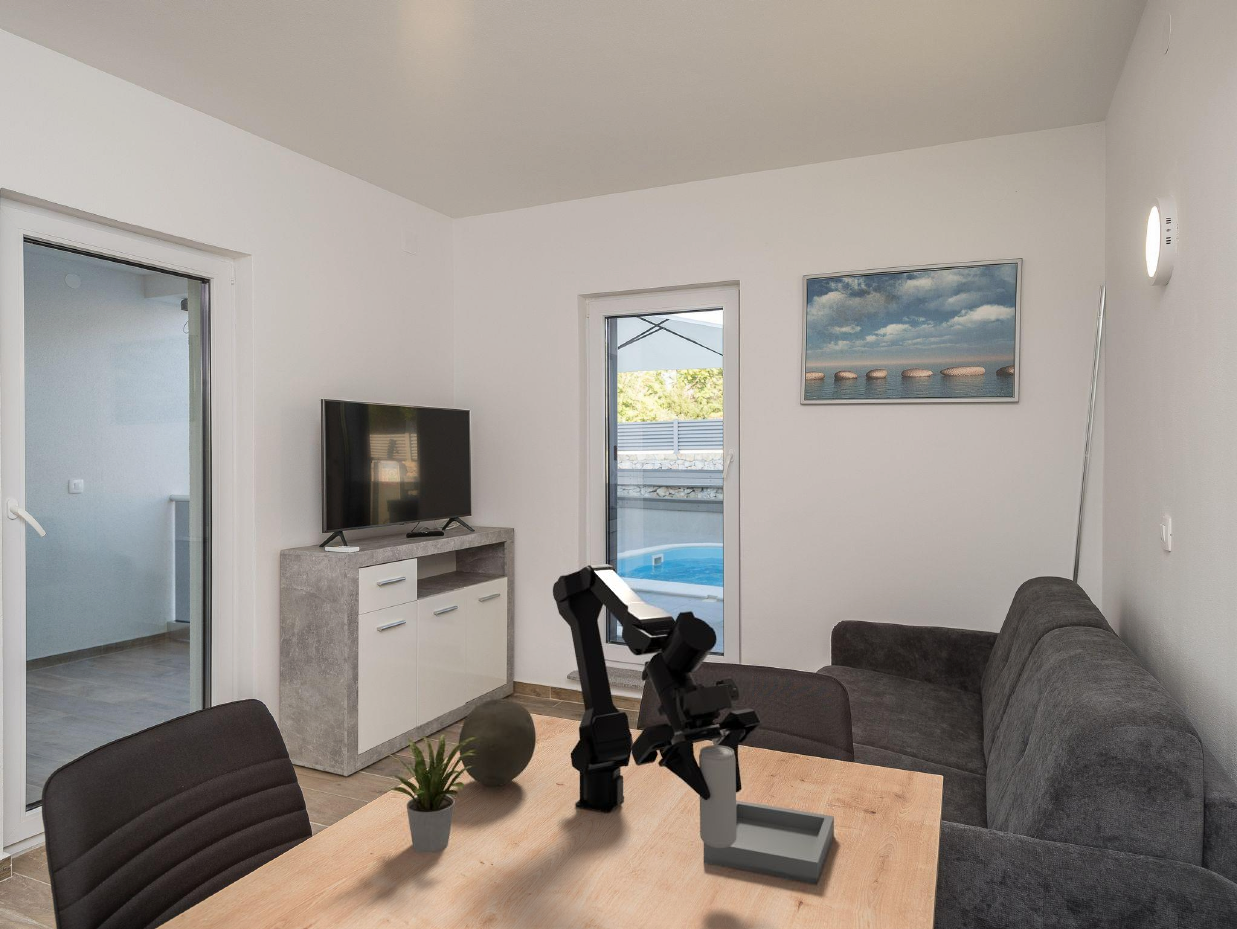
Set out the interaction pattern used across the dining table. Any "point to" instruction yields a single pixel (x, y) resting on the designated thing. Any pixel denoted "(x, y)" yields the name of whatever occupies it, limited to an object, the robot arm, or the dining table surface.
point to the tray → (777, 843)
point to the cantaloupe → (497, 741)
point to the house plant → (432, 796)
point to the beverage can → (718, 796)
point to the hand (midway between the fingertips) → (723, 794)
